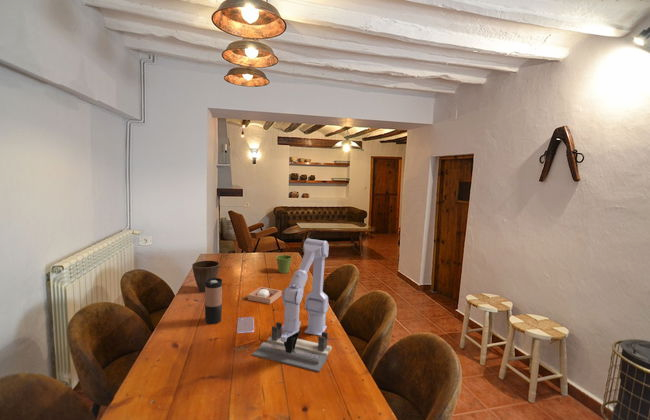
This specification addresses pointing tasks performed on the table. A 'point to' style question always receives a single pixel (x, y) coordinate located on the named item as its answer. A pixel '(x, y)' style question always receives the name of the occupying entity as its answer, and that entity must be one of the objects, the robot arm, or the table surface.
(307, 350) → the hook stand
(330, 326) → the table surface
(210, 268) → the plant pot
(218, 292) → the travel mug
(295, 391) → the table surface
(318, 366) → the mat
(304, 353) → the rail
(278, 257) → the plant pot
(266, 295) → the garlic
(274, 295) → the garlic dish
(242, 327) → the mobile phone
